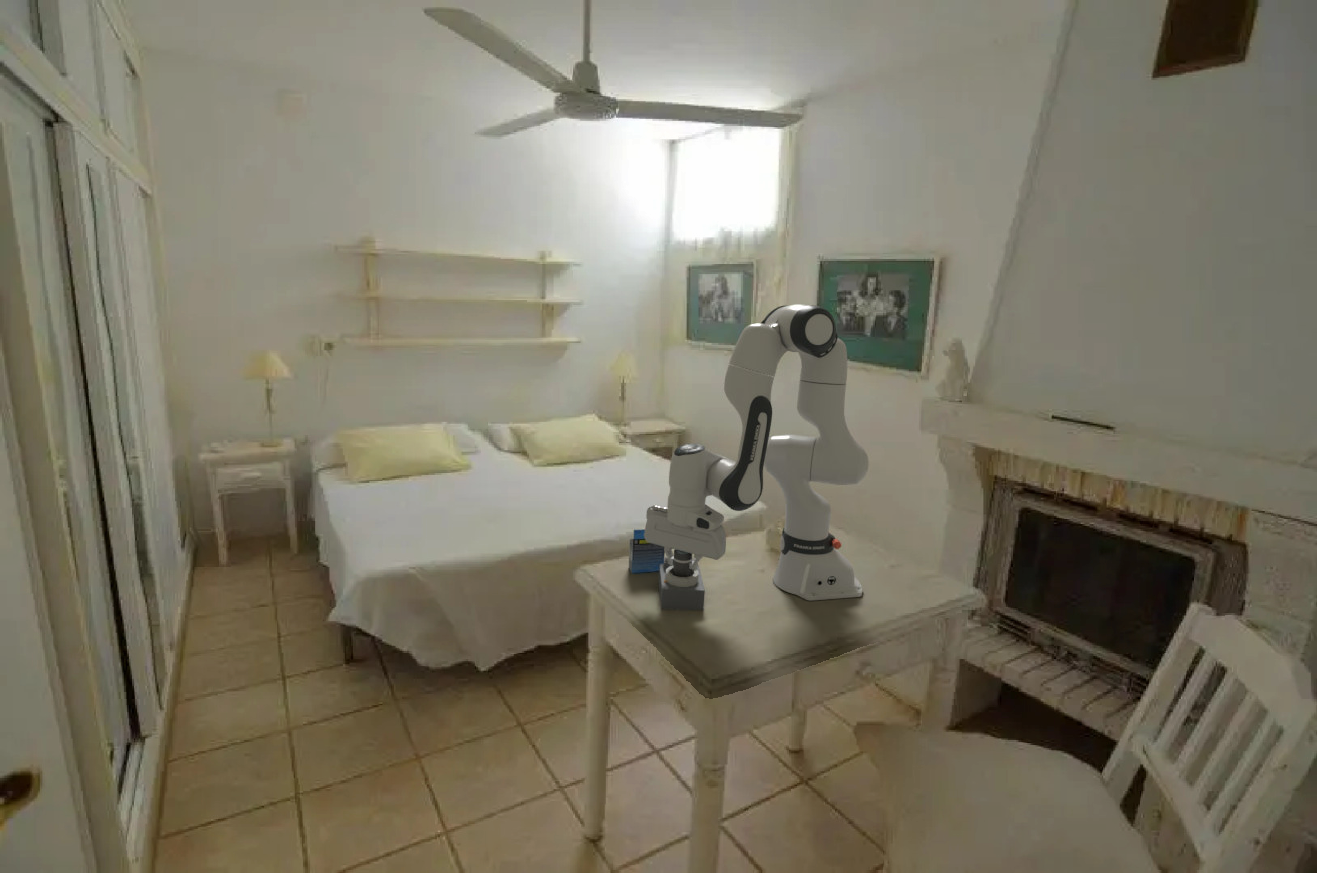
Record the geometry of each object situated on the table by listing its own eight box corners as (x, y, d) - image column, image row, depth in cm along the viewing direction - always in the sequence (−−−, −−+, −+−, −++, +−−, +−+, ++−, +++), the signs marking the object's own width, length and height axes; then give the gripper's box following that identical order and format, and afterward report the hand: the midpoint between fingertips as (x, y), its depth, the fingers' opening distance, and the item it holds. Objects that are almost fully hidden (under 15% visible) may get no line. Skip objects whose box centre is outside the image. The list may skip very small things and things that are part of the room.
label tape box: (660, 565, 179) (662, 522, 176) (664, 572, 175) (666, 528, 172) (628, 567, 176) (630, 524, 173) (631, 574, 172) (633, 530, 170)
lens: (677, 572, 162) (679, 545, 161) (694, 576, 160) (695, 549, 159) (669, 579, 159) (670, 551, 157) (686, 584, 157) (687, 556, 155)
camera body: (697, 582, 169) (699, 555, 168) (703, 610, 156) (705, 580, 154) (658, 582, 169) (660, 554, 167) (661, 609, 155) (662, 579, 153)
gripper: (640, 507, 158) (638, 561, 161) (720, 525, 148) (715, 582, 152) (653, 500, 163) (650, 552, 166) (730, 517, 154) (726, 572, 157)
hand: (682, 566), depth 159 cm, fingers closed on lens, 4 cm apart
